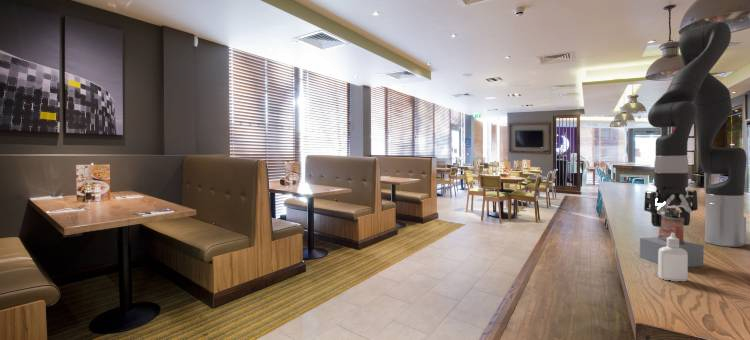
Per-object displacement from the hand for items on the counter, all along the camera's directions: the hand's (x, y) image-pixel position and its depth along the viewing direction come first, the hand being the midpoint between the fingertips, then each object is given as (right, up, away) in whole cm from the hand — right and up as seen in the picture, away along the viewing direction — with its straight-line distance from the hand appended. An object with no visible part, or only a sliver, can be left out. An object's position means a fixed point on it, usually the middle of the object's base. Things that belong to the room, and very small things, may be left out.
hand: (670, 225), depth 100 cm
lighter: (0, -5, 0) cm, 5 cm away
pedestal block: (0, -11, 0) cm, 11 cm away
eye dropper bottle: (-11, -12, -13) cm, 21 cm away
